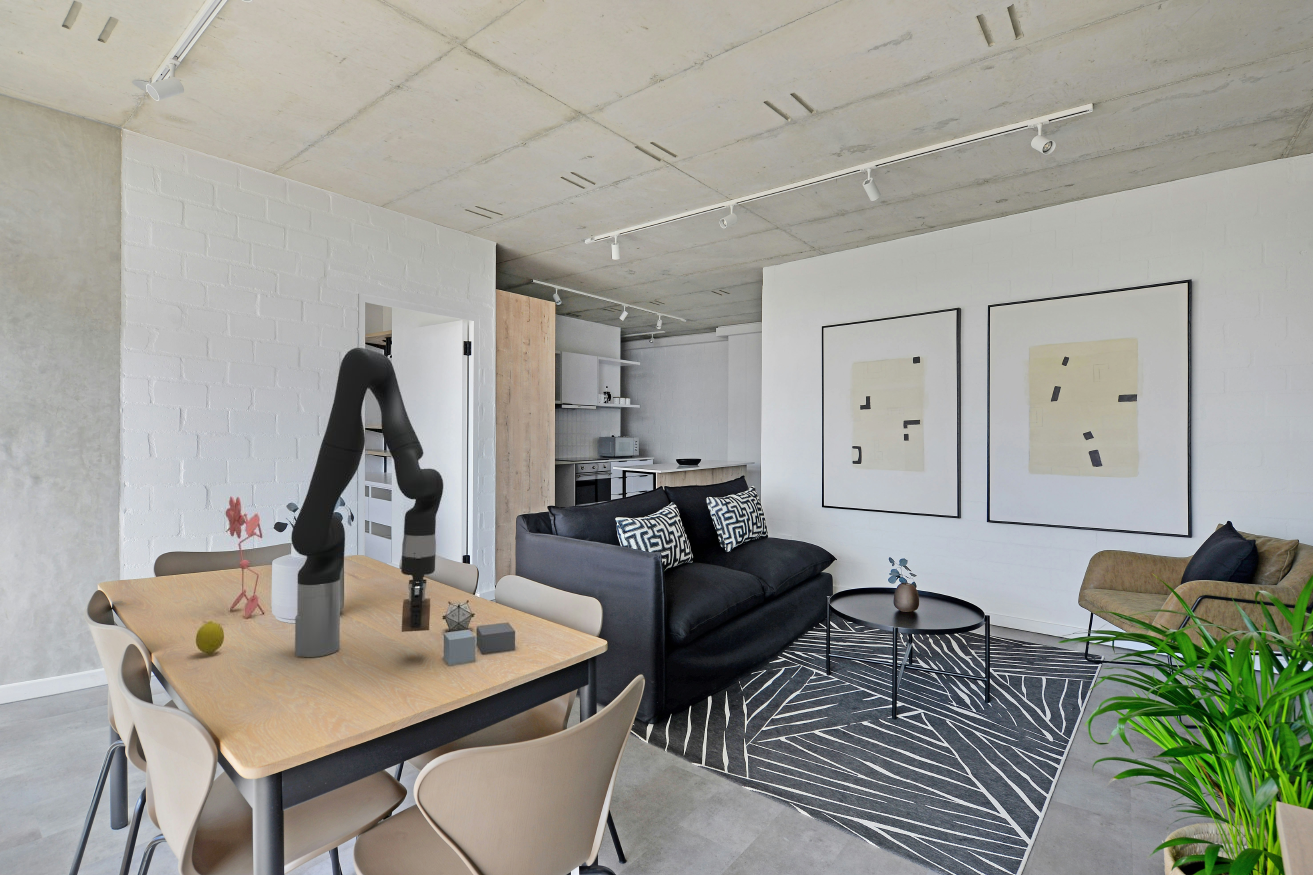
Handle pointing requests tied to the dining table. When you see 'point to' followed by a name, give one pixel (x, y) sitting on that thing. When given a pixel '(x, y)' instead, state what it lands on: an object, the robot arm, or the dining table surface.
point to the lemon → (209, 637)
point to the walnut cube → (407, 615)
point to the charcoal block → (495, 638)
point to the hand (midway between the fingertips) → (415, 623)
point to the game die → (458, 616)
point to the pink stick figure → (235, 526)
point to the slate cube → (459, 647)
